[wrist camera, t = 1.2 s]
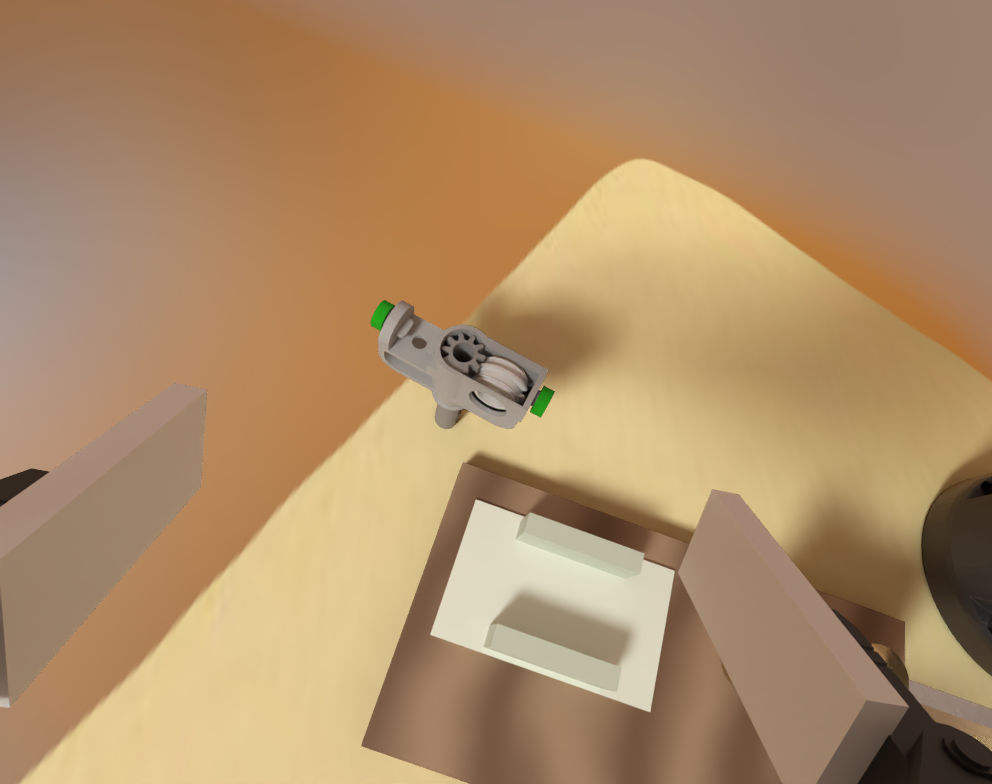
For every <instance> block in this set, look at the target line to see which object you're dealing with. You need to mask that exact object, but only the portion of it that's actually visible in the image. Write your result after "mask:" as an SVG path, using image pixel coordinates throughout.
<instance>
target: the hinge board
mask: <svg viewBox="0 0 992 784" xmlns="http://www.w3.org/2000/svg"><path fill="white" fill-rule="evenodd" d="M688 547H689V544H688V543H685V542H683V541H680V540H677V539H674V538H671V537H669V536H666V535H663V534H660V533H658V532H655V531H652V530H649V529H647V528H644V527H641V526H638V525H635V524H633V523H630V522H627V521H624V520H622V519H619V518H616V517H613V516H611V515H608V514H605V513H602V512H600V511H597V510H594V509H591V508H588V507H586V506H583V505H580V504H577V503H575V502H572V501H569V500H566V499H564V498H561V497H558V496H555V495H552V494H550V493H547V492H544V491H541V490H539V489H536V488H533V487H530V486H528V485H525V484H522V483H519V482H517V481H514V480H511V479H508V478H505V477H503V476H500V475H497V474H494V473H492V472H489V471H486V470H483V469H481V468H478V467H475V466H472V465H469V464H467V463H464V462H463V464H462V466H461V469H460V471H459V474H458V477H457V480H456V483H455V485H454V488H453V491H452V494H451V497H450V499H449V502H448V505H447V508H446V510H445V513H444V516H443V519H442V522H441V524H440V527H439V530H438V533H437V536H436V538H435V541H434V544H433V547H432V549H431V552H430V555H429V558H428V561H427V563H426V566H425V569H424V572H423V575H422V577H421V580H420V583H419V586H418V589H417V591H416V594H415V597H414V600H413V602H412V605H411V608H410V611H409V614H408V616H407V619H406V622H405V625H404V628H403V630H402V633H401V636H400V639H399V642H398V644H397V647H396V650H395V653H394V655H393V658H392V661H391V664H390V667H389V669H388V672H387V675H386V678H385V681H384V683H383V686H382V689H381V692H380V695H379V697H378V700H377V703H376V706H375V708H374V711H373V714H372V717H371V720H370V722H369V725H368V728H367V731H366V734H365V736H364V739H363V742H362V746H363V747H366V748H369V749H371V750H374V751H377V752H380V753H383V754H386V755H389V756H392V757H395V758H397V759H400V760H403V761H406V762H409V763H412V764H415V765H418V766H420V767H423V768H426V769H429V770H432V771H435V772H438V773H441V774H444V775H446V776H449V777H452V778H455V779H458V780H461V781H464V782H467V783H469V784H782V782H781V780H780V778H779V776H778V774H777V772H776V770H775V768H774V766H773V764H772V762H771V760H770V758H769V756H768V754H767V752H766V749H765V747H764V745H763V743H762V741H761V739H760V737H759V735H758V733H757V731H756V729H755V727H754V725H753V723H752V721H751V719H750V717H749V715H748V713H747V711H746V709H745V707H744V705H743V703H742V701H741V699H740V697H739V695H738V693H737V691H736V689H735V687H734V685H733V683H732V681H731V679H730V677H729V675H728V673H727V671H726V669H725V667H724V665H723V663H722V661H721V659H720V657H719V655H718V653H717V651H716V649H715V647H714V645H713V643H712V641H711V639H710V637H709V635H708V632H707V630H706V628H705V626H704V624H703V622H702V620H701V618H700V616H699V614H698V612H697V610H696V608H695V606H694V604H693V602H692V600H691V598H690V596H689V594H688V592H687V590H686V588H685V586H684V584H683V582H682V580H681V578H680V576H679V574H678V571H679V569H680V566H681V564H682V561H683V559H684V557H685V554H686V552H687V549H688ZM816 591H817V593H818V594H819V595H820V596H821V598H822V599H823V600H824V601H825V603H826V604H827V605H828V606H829V608H830V609H834V610H836V611H837V612H839V613H840V614H841V615H842V616H843V617H845V618H846V619H847V620H848V621H850V622H851V623H852V624H853V625H854V626H856V627H857V628H858V629H859V630H860V632H861V633H862V634H863V635H864V636H865V638H866V639H867V640H868V641H869V642H870V644H871V645H872V646H873V647H874V651H876V652H878V653H879V655H880V656H881V657H882V658H883V659H884V661H885V662H886V663H887V667H888V668H891V669H892V670H893V671H894V673H895V674H896V675H897V676H898V678H899V679H900V680H901V681H902V682H903V684H904V685H905V686H906V687H907V688H908V690H909V691H910V692H911V693H912V694H913V696H914V697H915V698H916V699H917V701H918V702H919V703H920V704H921V705H922V707H923V708H924V709H925V710H926V711H927V713H928V714H929V715H930V716H931V717H932V719H933V720H934V721H935V722H938V723H942V724H946V725H950V726H952V727H954V728H956V729H959V730H961V731H963V732H965V733H967V734H969V735H974V736H980V737H987V738H992V709H989V708H987V707H984V706H981V705H978V704H975V703H973V702H970V701H967V700H964V699H962V698H959V697H956V696H953V695H950V694H948V693H945V692H942V691H939V690H936V689H934V688H931V687H928V686H925V685H923V684H920V683H917V682H914V681H911V680H909V678H908V674H907V670H906V668H905V622H904V621H901V620H898V619H896V618H893V617H890V616H887V615H885V614H882V613H879V612H876V611H873V610H871V609H868V608H865V607H862V606H860V605H857V604H854V603H851V602H849V601H846V600H843V599H840V598H837V597H835V596H832V595H829V594H826V593H824V592H821V591H818V590H816Z"/></svg>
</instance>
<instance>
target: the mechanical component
mask: <svg viewBox="0 0 992 784" xmlns="http://www.w3.org/2000/svg"><path fill="white" fill-rule="evenodd" d="M371 326H372V327H374V328H376V329H378V330H380V331H381V332H380V335H379V339H378V345H379V355H380V357H381V359H382V360H383V361H384V362H385V363H386V364H387V365H388V366H389V367H390V368H392V369H393V370H395V371H397V372H398V373H400V374H402V375H404V376H406V377H407V378H409V379H411V380H413V381H415V382H417V383H418V384H420V385H422V386H424V387H426V388H428V389H429V390H431V391H432V394H433V397H434V399H435V401H436V402H437V403H438V404H437V409H436V414H435V421H436V423H437V424H438V425H439V426H440V427H442V428H445V429H450V428H452V427H453V426H454V425H455V424H456V423H457V421H456V419H458V418H459V416H460V413H461V410H462V409H466V410H468V411H470V412H472V413H474V414H475V415H477V416H479V417H481V418H483V419H485V420H486V421H488V422H490V423H492V424H494V425H496V426H499V427H502V428H506V429H512V428H514V427H515V425H516V424H517V422H521V421H522V419H523V417H524V416H525V414H526V412H527V411H528V409H529V407H530V405H531V406H532V408H531V410H530V412H531V413H533V414H535V415H537V416H539V417H540V418H541V416H542V415H543V413H544V411H545V409H546V408H547V406H548V404H549V402H550V400H551V398H552V396H553V394H554V392H555V391H553V390H551V389H549V388H547V387H545V386H544V387H543V388H542V390H541V391H539V388H540V386H541V384H542V382H543V380H544V378H545V377H546V375H547V373H548V371H549V370H548V369H546V368H545V367H543V366H541V365H539V364H537V363H535V362H533V361H532V360H530V359H528V358H526V357H524V356H522V355H520V354H518V353H517V352H515V351H513V350H511V349H509V348H507V347H505V346H504V345H502V344H500V343H498V342H496V341H494V340H492V339H491V338H489V337H487V336H486V335H485V334H484V333H483V332H482V331H480V330H479V329H477V328H475V327H472V326H469V325H456V326H452V327H450V328H448V329H446V330H445V331H444V330H442V329H440V328H438V327H436V326H434V325H433V324H431V323H429V322H427V321H425V320H423V319H422V318H419V317H418V316H416V315H414V307H413V306H412V305H410V304H408V303H406V302H404V301H400V302H399V303H398V304H397V305H396V306H395V305H393V304H391V303H389V302H387V301H386V300H384V301H382V302H381V303H380V304H379V306H378V307H377V309H376V310H375V312H374V314H373V317H372V319H371ZM492 356H501V357H492ZM504 357H505V358H504ZM507 358H508V359H507ZM509 359H510V360H509ZM511 360H512V361H511ZM517 364H518V365H519V366H520V367H521V368H522V369H523V370H522V369H521V368H520V367H519V366H518V365H517ZM523 371H524V372H525V374H526V376H525V374H524V372H523Z"/></svg>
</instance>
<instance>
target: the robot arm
mask: <svg viewBox="0 0 992 784" xmlns="http://www.w3.org/2000/svg"><path fill="white" fill-rule="evenodd" d="M206 400H207V390H206V389H202V388H197V387H191V386H186V385H181V384H176V383H174V384H173V385H171V386H170V387H168V388H167V389H166V390H164V391H163V392H161V393H160V394H159V395H157V396H156V397H154V398H153V399H152V400H150V401H149V402H147V403H146V404H145V405H143V406H142V407H140V408H139V409H138V410H136V411H135V412H133V413H132V414H131V415H129V416H128V417H126V418H125V419H124V420H122V421H121V422H119V423H118V424H116V425H115V426H114V427H112V428H111V429H109V430H108V431H107V432H105V433H104V434H102V435H101V436H99V437H98V438H97V439H95V440H94V441H92V442H91V443H90V444H88V445H87V446H85V447H84V448H83V449H81V450H80V451H79V452H77V453H76V454H74V455H73V456H71V457H70V458H69V459H67V460H66V461H64V462H63V463H62V464H60V465H59V466H57V467H56V468H54V469H53V470H52V471H50V472H48V471H42V470H36V469H29V470H26V471H23V472H20V473H17V474H15V475H12V476H9V477H6V478H3V479H1V480H0V706H2V707H11V705H12V704H13V703H14V702H15V701H16V700H17V698H18V697H19V696H20V695H21V694H22V693H23V692H24V690H25V689H26V688H27V687H28V686H29V685H30V683H31V682H32V681H33V680H34V679H35V678H36V677H37V675H38V674H39V673H40V672H41V671H42V670H43V668H44V667H45V666H46V665H47V664H48V663H49V662H50V660H51V659H52V658H53V657H54V656H55V655H56V654H57V652H58V651H59V650H60V649H61V648H62V647H63V646H64V644H65V643H66V642H67V641H68V640H69V639H70V637H71V636H72V635H73V634H74V633H75V632H76V630H77V629H78V628H79V627H80V626H81V625H82V624H83V622H84V621H85V620H86V619H87V618H88V617H89V615H90V614H91V613H92V612H93V611H94V610H95V609H96V607H97V606H98V605H99V604H100V603H101V602H102V600H103V599H104V598H105V597H106V596H107V595H108V593H109V592H110V591H111V590H112V589H113V588H114V586H115V585H116V584H117V583H118V582H119V581H120V580H121V579H122V577H123V576H124V575H125V574H126V573H127V572H128V570H129V569H130V568H131V567H132V566H133V564H135V562H136V561H137V560H138V559H139V558H140V557H141V555H142V554H143V553H144V552H145V551H146V550H147V549H148V547H149V546H150V545H151V544H152V543H153V542H154V540H155V539H156V538H157V537H158V536H159V534H161V532H162V531H163V530H164V529H165V528H166V527H167V525H168V524H169V523H170V522H171V521H172V520H173V518H174V517H175V516H176V515H177V514H178V513H179V512H180V510H181V509H182V508H183V507H184V506H185V505H186V504H187V502H188V501H189V500H190V499H191V498H192V496H193V495H194V494H195V493H196V492H197V491H198V490H199V488H200V487H201V476H202V461H203V446H204V445H203V444H204V430H205V414H206ZM923 561H924V567H925V573H926V577H927V581H928V584H929V587H930V590H931V593H932V596H933V598H934V601H935V603H936V605H937V608H938V610H939V612H940V614H941V616H942V617H943V619H944V621H945V623H946V624H947V626H948V628H949V629H950V631H951V632H952V634H953V635H954V637H955V638H956V640H957V641H958V642H959V643H960V645H961V646H962V647H963V648H964V650H965V651H966V652H967V653H968V654H969V655H970V656H971V658H972V659H973V660H974V661H975V662H976V663H977V664H978V665H979V666H981V667H982V668H983V669H984V670H985V671H986V672H987V673H989V674H990V675H991V676H992V473H991V474H987V475H983V476H980V477H976V478H973V479H969V480H966V481H962V482H959V483H957V484H955V485H953V486H951V487H950V488H948V489H947V490H945V491H944V492H943V493H942V494H941V495H940V496H939V497H938V498H937V500H936V501H935V502H934V504H933V506H932V507H931V509H930V511H929V514H928V516H927V519H926V522H925V527H924V532H923ZM678 574H679V576H680V578H681V580H682V582H683V584H684V586H685V588H686V590H687V592H688V594H689V596H690V598H691V600H692V602H693V604H694V606H695V608H696V610H697V612H698V614H699V616H700V618H701V620H702V622H703V624H704V626H705V628H706V630H707V632H708V635H709V637H710V639H711V641H712V643H713V645H714V647H715V649H716V651H717V653H718V655H719V657H720V659H721V661H722V663H723V665H724V667H725V669H726V671H727V673H728V675H729V677H730V679H731V681H732V683H733V685H734V687H735V689H736V691H737V693H738V695H739V697H740V699H741V701H742V703H743V705H744V707H745V709H746V711H747V713H748V715H749V717H750V719H751V721H752V723H753V725H754V727H755V729H756V731H757V733H758V735H759V737H760V739H761V741H762V743H763V745H764V747H765V749H766V752H767V754H768V756H769V758H770V760H771V762H772V764H773V766H774V768H775V770H776V772H777V774H778V776H779V778H780V780H781V782H782V784H992V751H990V750H989V749H988V748H987V747H986V746H985V745H983V744H982V743H980V742H979V741H977V740H976V739H974V738H973V737H972V736H970V735H969V734H967V733H965V732H963V731H961V730H959V729H956V728H954V727H952V726H950V725H946V724H942V723H938V722H935V721H934V720H933V719H932V717H931V716H930V715H929V714H928V713H927V711H926V710H925V709H924V708H923V707H922V705H921V704H920V703H919V702H918V701H917V699H916V698H915V697H914V696H913V694H912V693H911V692H910V691H909V690H908V688H907V687H906V686H905V685H904V684H903V682H902V681H901V680H900V679H899V678H898V676H897V675H896V674H895V673H894V671H893V670H892V669H891V668H888V667H887V663H886V662H885V661H884V659H883V658H882V657H881V656H880V655H879V653H878V652H876V651H874V647H873V646H872V645H871V644H870V642H869V641H868V640H867V639H866V638H865V636H864V635H863V634H862V633H861V632H860V630H859V629H858V628H857V627H856V626H854V625H853V624H852V623H851V622H850V621H848V620H847V619H846V618H845V617H843V616H842V615H841V614H840V613H839V612H837V611H836V610H834V609H830V608H829V606H828V605H827V604H826V603H825V601H824V600H823V599H822V598H821V596H820V595H819V594H818V593H817V591H816V590H815V589H814V588H813V586H812V585H811V584H810V583H809V581H808V580H807V579H806V578H805V576H804V575H803V574H802V573H801V571H800V570H799V569H798V568H797V566H796V565H795V564H794V563H793V561H792V560H791V559H790V558H789V556H788V555H787V554H786V553H785V551H784V550H783V549H782V548H781V546H780V545H779V544H778V543H777V541H776V540H775V539H774V538H773V536H772V535H771V534H770V533H769V531H768V530H767V529H766V528H765V526H764V525H763V524H762V523H761V521H760V520H759V519H758V518H757V516H756V515H755V514H754V513H753V511H752V510H751V509H750V508H749V506H748V505H747V504H746V503H745V501H744V500H743V499H742V498H741V496H740V495H739V494H734V493H729V492H723V491H718V490H713V489H712V491H711V494H710V496H709V498H708V501H707V503H706V506H705V508H704V511H703V513H702V515H701V518H700V520H699V523H698V525H697V528H696V530H695V532H694V535H693V537H692V540H691V542H690V544H689V547H688V549H687V552H686V554H685V557H684V559H683V561H682V564H681V566H680V569H679V571H678Z"/></svg>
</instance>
